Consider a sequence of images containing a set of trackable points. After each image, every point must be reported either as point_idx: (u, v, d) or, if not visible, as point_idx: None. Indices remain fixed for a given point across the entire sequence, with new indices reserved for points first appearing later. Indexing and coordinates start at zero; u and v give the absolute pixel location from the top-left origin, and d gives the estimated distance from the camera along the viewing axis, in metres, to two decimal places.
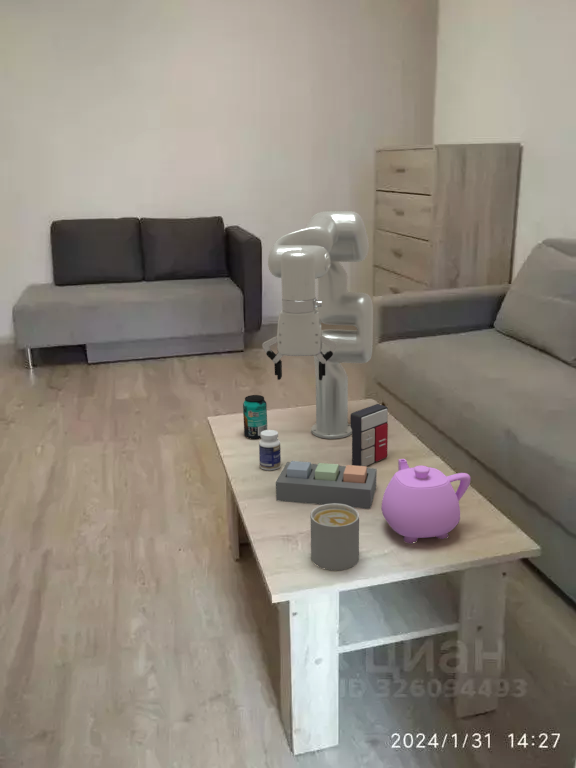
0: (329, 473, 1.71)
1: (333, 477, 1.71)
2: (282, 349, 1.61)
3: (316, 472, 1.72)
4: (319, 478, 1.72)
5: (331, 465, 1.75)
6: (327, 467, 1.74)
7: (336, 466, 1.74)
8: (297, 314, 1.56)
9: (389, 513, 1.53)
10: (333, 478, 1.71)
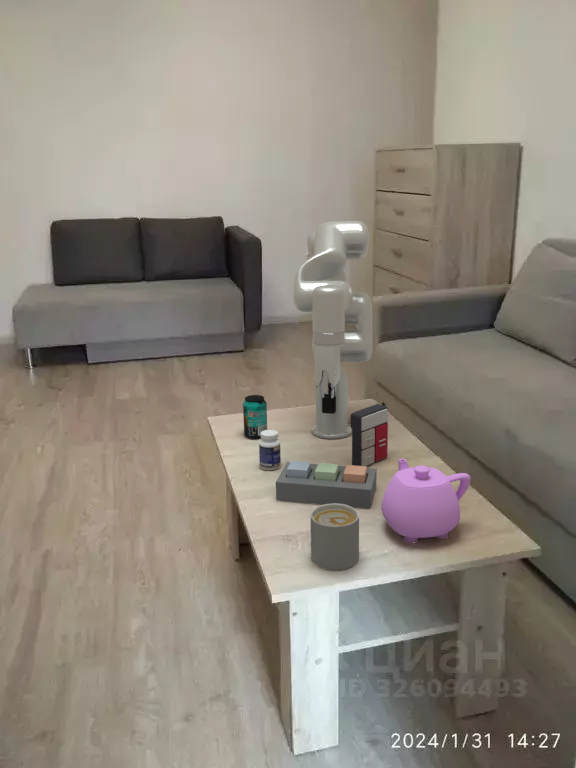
0: (329, 473, 1.71)
1: (333, 477, 1.71)
2: (335, 382, 1.66)
3: (316, 472, 1.72)
4: (319, 478, 1.72)
5: (331, 465, 1.75)
6: (327, 467, 1.74)
7: (336, 466, 1.74)
8: (344, 343, 1.66)
9: (389, 513, 1.53)
10: (333, 478, 1.71)
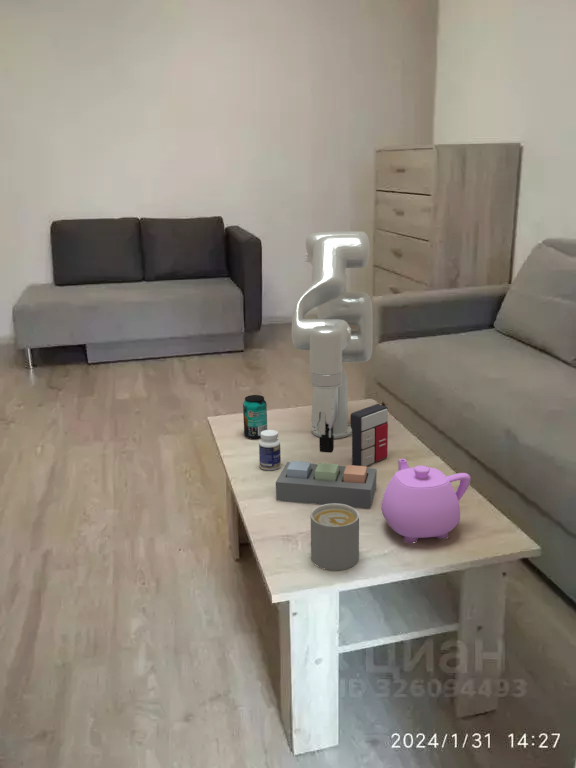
0: (329, 473, 1.71)
1: (333, 477, 1.71)
2: (332, 422, 1.65)
3: (316, 472, 1.72)
4: (319, 478, 1.72)
5: (331, 465, 1.75)
6: (327, 467, 1.74)
7: (336, 466, 1.74)
8: (341, 383, 1.66)
9: (389, 513, 1.53)
10: (333, 478, 1.71)
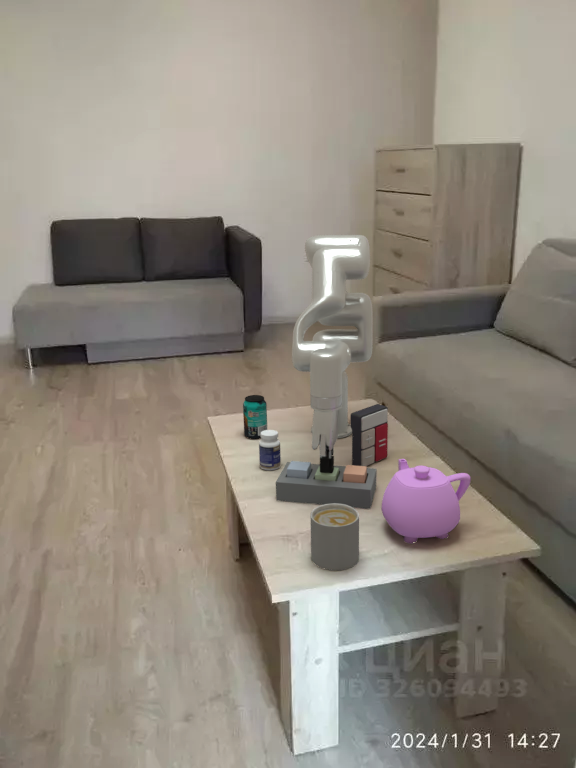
0: (329, 477, 1.71)
1: (333, 480, 1.72)
2: (332, 444, 1.67)
3: (316, 475, 1.72)
4: None
5: None
6: None
7: (336, 469, 1.75)
8: (341, 406, 1.68)
9: (389, 513, 1.53)
10: None
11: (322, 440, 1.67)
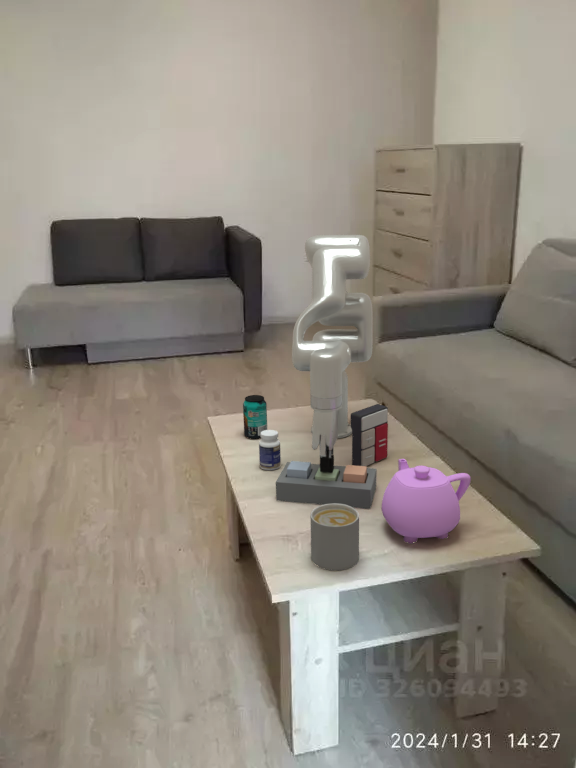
0: (329, 478, 1.72)
1: None
2: (332, 444, 1.68)
3: (316, 477, 1.72)
4: None
5: None
6: (327, 472, 1.74)
7: (336, 471, 1.75)
8: (341, 406, 1.68)
9: (389, 513, 1.53)
10: None
11: (322, 440, 1.67)
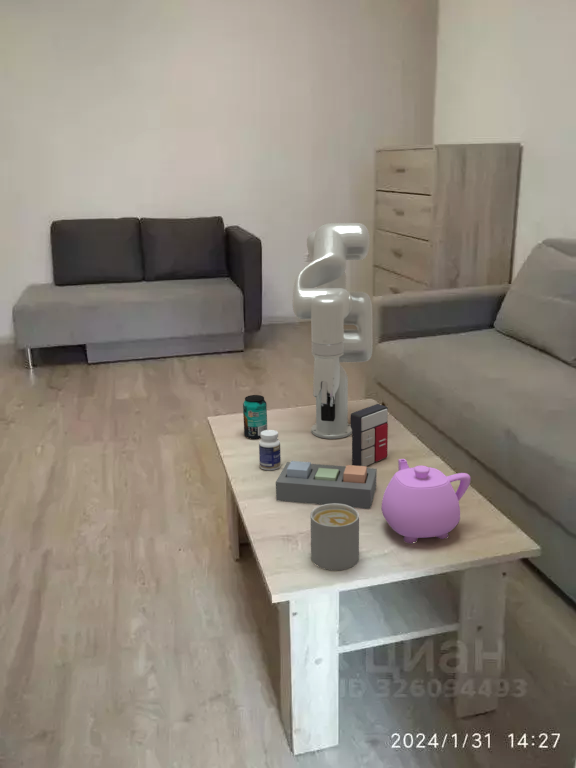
0: (329, 478, 1.72)
1: None
2: (333, 391, 1.66)
3: (316, 477, 1.72)
4: None
5: (331, 470, 1.75)
6: (327, 472, 1.74)
7: (336, 471, 1.75)
8: (343, 353, 1.66)
9: (389, 513, 1.53)
10: None
11: (323, 387, 1.65)
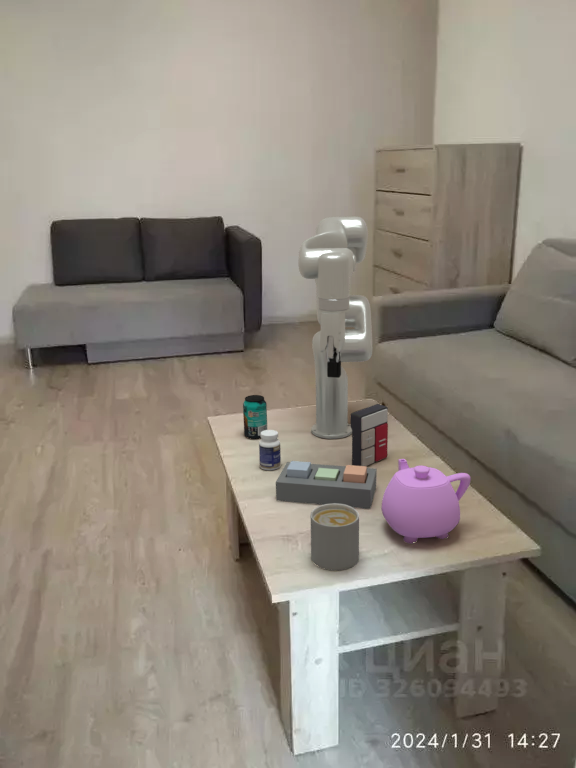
0: (329, 478, 1.72)
1: None
2: (340, 346, 1.71)
3: (316, 477, 1.72)
4: None
5: (331, 470, 1.75)
6: (327, 472, 1.74)
7: (336, 471, 1.75)
8: (349, 309, 1.72)
9: (389, 513, 1.53)
10: None
11: (330, 342, 1.70)
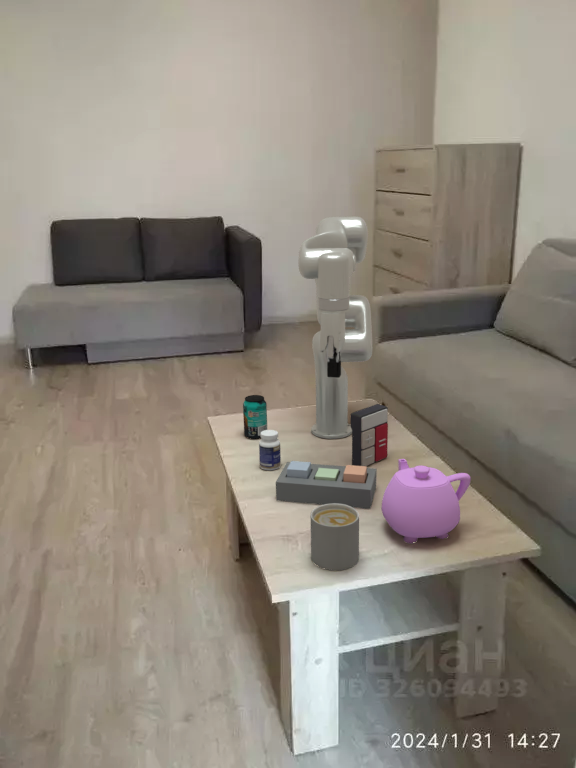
0: (329, 478, 1.72)
1: None
2: (340, 346, 1.71)
3: (316, 477, 1.72)
4: None
5: (331, 470, 1.75)
6: (327, 472, 1.74)
7: (336, 471, 1.75)
8: (349, 309, 1.72)
9: (389, 513, 1.53)
10: None
11: (330, 342, 1.70)
